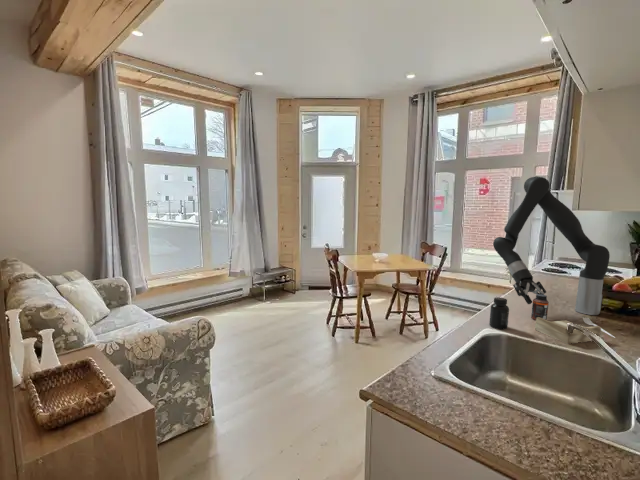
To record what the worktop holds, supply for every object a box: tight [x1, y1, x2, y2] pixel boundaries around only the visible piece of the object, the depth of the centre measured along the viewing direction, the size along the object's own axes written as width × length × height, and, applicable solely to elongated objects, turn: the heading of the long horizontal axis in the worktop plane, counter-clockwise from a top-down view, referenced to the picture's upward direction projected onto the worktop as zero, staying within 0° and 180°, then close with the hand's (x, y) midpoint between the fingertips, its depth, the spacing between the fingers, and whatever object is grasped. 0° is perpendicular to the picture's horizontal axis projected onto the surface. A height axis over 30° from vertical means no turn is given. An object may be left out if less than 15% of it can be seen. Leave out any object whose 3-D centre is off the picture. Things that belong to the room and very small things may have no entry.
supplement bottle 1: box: [488, 296, 510, 330], centre depth 145 cm, size 7×7×12 cm
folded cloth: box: [534, 317, 602, 345], centre depth 139 cm, size 16×14×5 cm
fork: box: [582, 316, 617, 339], centre depth 148 cm, size 3×20×2 cm, turn 172°
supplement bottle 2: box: [530, 294, 550, 321], centre depth 156 cm, size 6×6×11 cm
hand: (538, 303), depth 157 cm, fingers open, 8 cm apart
